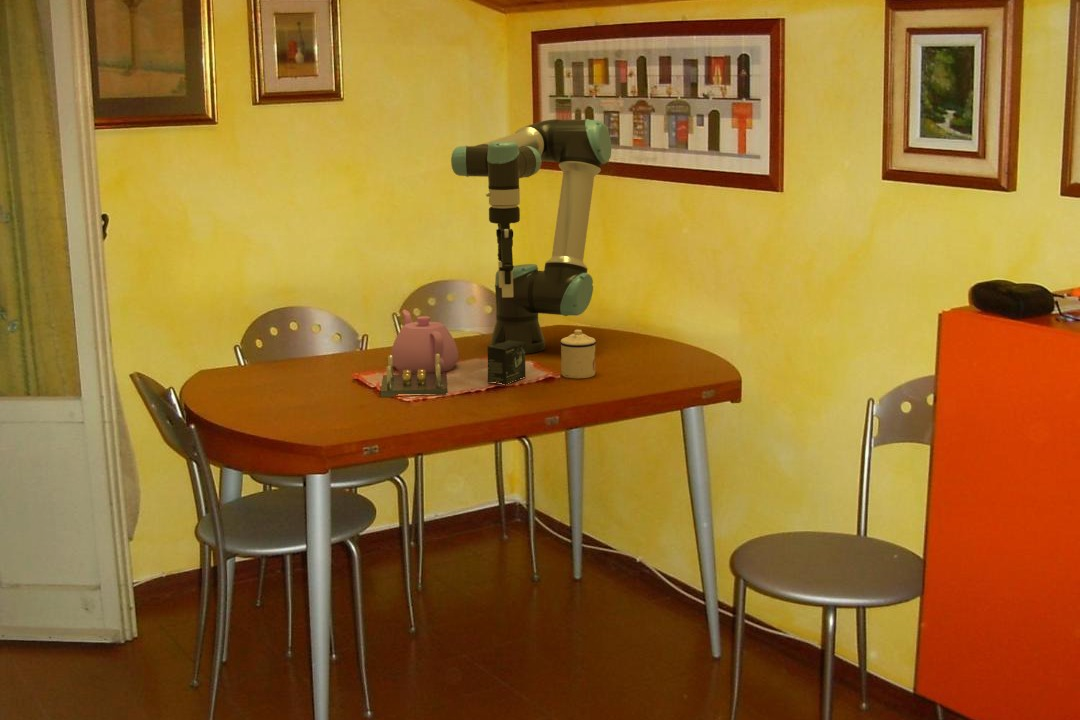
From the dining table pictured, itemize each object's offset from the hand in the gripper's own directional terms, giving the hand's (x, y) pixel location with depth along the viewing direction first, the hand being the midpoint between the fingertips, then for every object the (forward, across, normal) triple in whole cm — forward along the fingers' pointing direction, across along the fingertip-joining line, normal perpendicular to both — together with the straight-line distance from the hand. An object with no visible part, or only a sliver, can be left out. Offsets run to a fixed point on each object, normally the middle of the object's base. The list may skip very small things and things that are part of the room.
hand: (506, 292), depth 327 cm
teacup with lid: (+23, -5, +18) cm, 29 cm away
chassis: (+22, +4, -23) cm, 33 cm away
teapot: (+23, -18, -21) cm, 36 cm away
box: (+23, 0, 0) cm, 23 cm away
